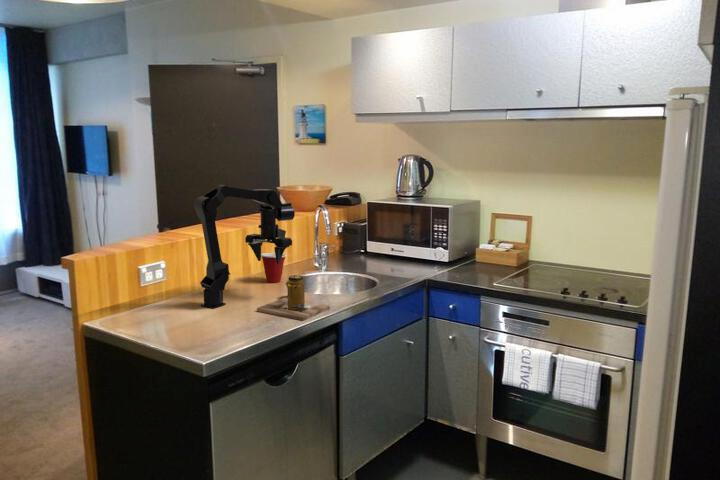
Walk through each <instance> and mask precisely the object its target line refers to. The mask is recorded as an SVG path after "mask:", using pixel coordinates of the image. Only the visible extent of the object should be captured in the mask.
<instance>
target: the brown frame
mask: <svg viewBox="0 0 720 480" xmlns="http://www.w3.org/2000/svg"><path fill="white" fill-rule="evenodd" d="M285 306H288V298H287V297H283V298H280V299H277V300H275V301H273V302H270V303H266V304H264V305H261V306H258V307H257V308H256V311H257V312H260V313H264V314H268V315H275V316H277V317H284V318H288V319H294V320H298V321H306V320H308V319H311V318H313V317H315V316H317V315H319V314H321V313H324V312H326V311H329V310H330V305H328V304H321V303H319V304H318V305H315V306H312V307H310V309H308V310H305V311H300V312H296V311H291V310H287V308H286V309H285V308H283V307H285Z"/></svg>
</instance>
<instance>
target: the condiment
mask: <svg viewBox="0 0 720 480" xmlns="http://www.w3.org/2000/svg"><path fill="white" fill-rule="evenodd" d="M287 283H288V284H287V285H288V287H287V286H286V289H287V288H288V289H287V295H288V305H286V310H291V311H296V312H303V311H305V310H308V309H310V308H311V305H306V304H305V299H306V298H305V289H306V288H305V284H304V276H302V275H299V274H298V275H295V274H294V275H289V276H288V282H287Z"/></svg>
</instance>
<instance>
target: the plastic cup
mask: <svg viewBox="0 0 720 480" xmlns="http://www.w3.org/2000/svg"><path fill="white" fill-rule="evenodd" d="M286 257H287V254H285V253H283V255H282V258H281V261H280V263H279V264H277V261H276V256H275V252H267V253H266V252H265V253H264V252H263V253H261V260H262V263H263V268H264V270H263V271H264V275H265V280H266V282H267V284H268V283H269V284H278V283H280V282H281V280H282V274H283V270H284V263H285V260H286Z"/></svg>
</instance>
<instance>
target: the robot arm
mask: <svg viewBox="0 0 720 480" xmlns="http://www.w3.org/2000/svg"><path fill="white" fill-rule="evenodd" d="M228 197H231V198H238V199H245V200H251V201H254V202H257V203H259V204H258V206H257V207H256V208H255V209H254V210H255V212H256V211H257V212H260V224H258V226H257V227H258V229H260V233H251V234H247V235H246V236H245V239H244V240H245V241H244V242H245V243H247V246H250V248H251V250H252V252H253V253H254V256H255V257H256V260H257V261H258V262H260V261H261V260H262V256H261V254H262V245H263V243H267V244H268V243H269V244H274V245H275V247H273V248H274V253H275V256H276V261H277V264H279V263H280V261H281V258H282V255H283V254H284V252H285V251H286V249H288V248H289V247H291V246H293V239H292V238H291V237H286V233H287V230H284V229H282V228H279V224H277V223H276V222H277V221H278V222H283V221H284V222H285V221H292V220H294V219H295V215H296V214H295V213H296V212H295V210H294V208H293V206H292V203H291V202H285V203H283V202H282V201H281V200H280V198H279V196H278V193H277V191H276V190H274V189H267V188H257V189H255V188H254V189H248V188H241V187H234V186H230V185H226V184H219V185H217V186H216V187H214V188H213V189H211V190H210V191H208V192H206V193H205V194H204V195H202V196H199V197H197V198H196V199H195V200H194V202H193V207H194V210H195V213H196V215H197V217H198V219H199V221H200V224H201V226H202V231H203V239H204V244H205V250H206V255H207V263H206V267H205V270H206V273H205V276H204V277H203V278H202V279H201V281H200V286H201V288H203V303H202V304H200V307H205V308H210V309H216V308H219V307H222V306H225V305H226V302H224V293H223V292H224V290H225V287H226V284H227V282H228V281H229V279H230V275H231V273H230V269H229V264H228V263H226V262H224V261H223V259H222V254H221V248H220V243H219V237H218V231H217V225H216V219H217V216H218V207H219V206H221V205H222V204H223V202H225V200H226V198H228ZM265 205H266V206H265Z"/></svg>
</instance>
